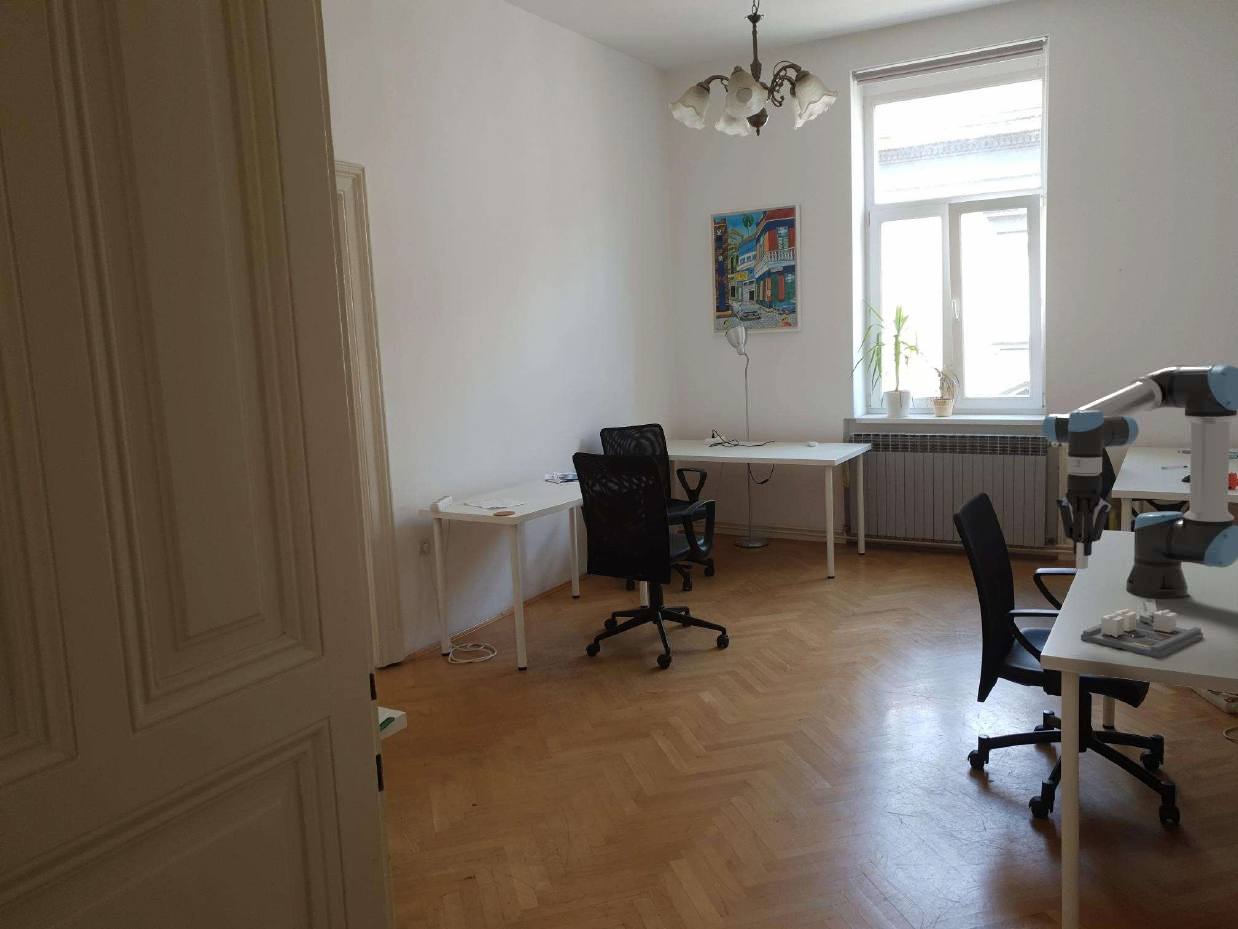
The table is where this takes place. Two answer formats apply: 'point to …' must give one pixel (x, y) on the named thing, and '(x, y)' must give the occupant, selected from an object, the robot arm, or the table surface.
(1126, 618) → the white slider knob
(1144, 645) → the switch bank
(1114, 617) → the white ridged block
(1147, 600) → the adjustable wrench
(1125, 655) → the table surface
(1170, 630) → the white notched block
